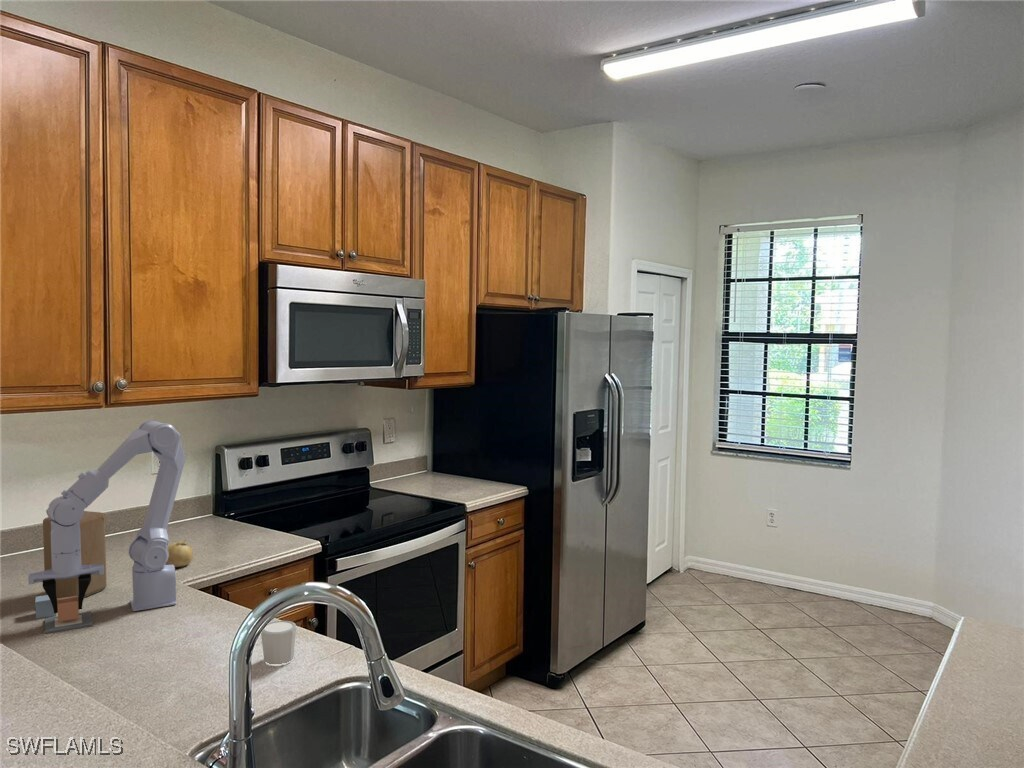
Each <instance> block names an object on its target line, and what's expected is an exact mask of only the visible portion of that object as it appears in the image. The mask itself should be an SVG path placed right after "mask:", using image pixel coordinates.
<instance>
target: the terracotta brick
mask: <svg viewBox="0 0 1024 768" xmlns="http://www.w3.org/2000/svg"><path fill="white" fill-rule="evenodd" d="M57 607H58V613H57V616H58V622H60V621H66V620H72V619H78V618H79V613H80V612H79V611H80V610H79V609H78V596H71V597H65V598H57Z"/></svg>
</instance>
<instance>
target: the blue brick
mask: <svg viewBox="0 0 1024 768" xmlns="http://www.w3.org/2000/svg"><path fill="white" fill-rule="evenodd" d="M34 604H35V606H34V607H35V619H36V620H37V619H38V620H39V619H45V618H51V617H57V613H54V610H53V606H52V603H51V601H50V599H49V597H48V595H45V594H44V595H38V596H35V602H34Z"/></svg>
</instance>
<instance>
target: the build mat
mask: <svg viewBox="0 0 1024 768" xmlns="http://www.w3.org/2000/svg"><path fill="white" fill-rule="evenodd" d="M88 627H93V620H92V613H91V610H90V611H89V610H88V611H84V612H79V618H78V619H72V620H66V621H60V622H58V615H56V616H51V617H45V618H44V634H52V633H57V632H65V631H70V630H77V629H81V628H88Z"/></svg>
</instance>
